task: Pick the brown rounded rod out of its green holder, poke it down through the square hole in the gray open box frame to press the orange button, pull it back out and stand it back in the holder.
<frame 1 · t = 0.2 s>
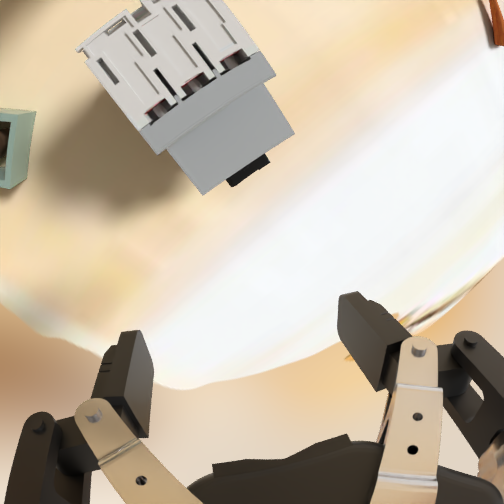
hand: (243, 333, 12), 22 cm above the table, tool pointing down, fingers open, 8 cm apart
stylus holder: (5, 141, 23), on the table
circuit breaker: (197, 99, 27), on the table
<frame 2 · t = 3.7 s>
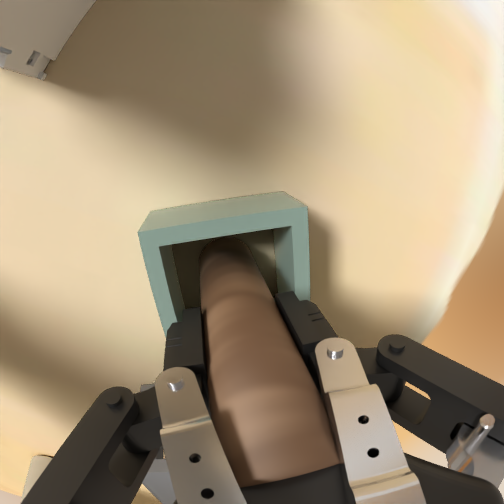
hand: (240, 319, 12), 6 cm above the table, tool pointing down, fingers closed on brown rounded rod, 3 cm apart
stylus holder: (225, 262, 18), on the table
gray open box frame: (253, 428, 24), on the table
travel mug: (60, 468, 24), on the table
brown rounded rod: (243, 331, 12), in the stylus holder, touching gripper
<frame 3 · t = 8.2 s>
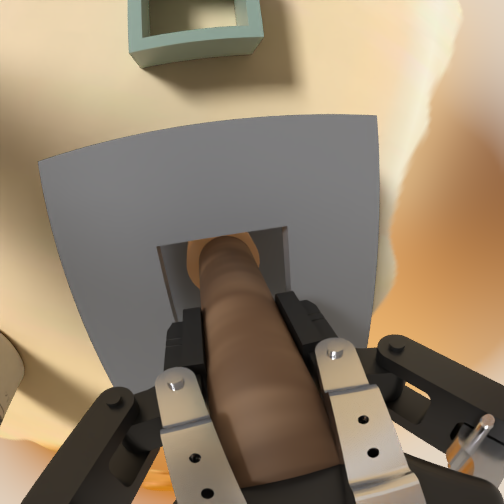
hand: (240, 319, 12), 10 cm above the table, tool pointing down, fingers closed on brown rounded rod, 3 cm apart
stylus holder: (192, 13, 16), on the table
gray open box frame: (218, 241, 22), on the table
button: (221, 254, 19), point 3 cm above the table, slide at -2.1 cm, touching brown rounded rod
brown rounded rod: (243, 330, 12), point 11 cm above the table, touching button, gripper
when the fingers open (7 cm above the table, at t = 14.7 s): brown rounded rod moves 1 cm, resting in stylus holder.
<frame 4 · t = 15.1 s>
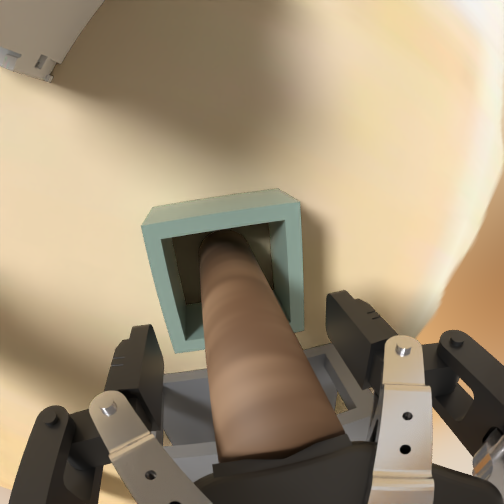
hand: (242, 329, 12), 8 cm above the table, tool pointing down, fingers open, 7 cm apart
stylus holder: (224, 256, 19), on the table
gray open box frame: (251, 421, 25), on the table
brown rounded rod: (240, 313, 12), in the stylus holder
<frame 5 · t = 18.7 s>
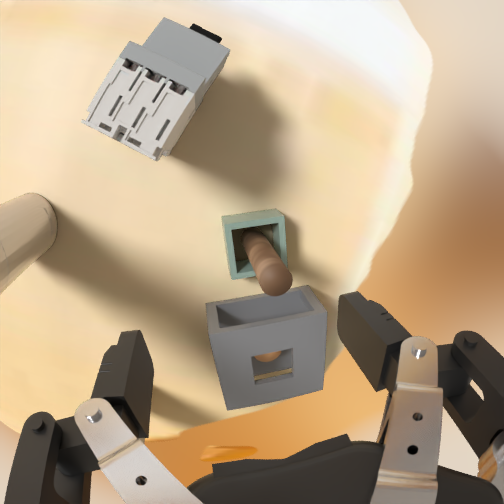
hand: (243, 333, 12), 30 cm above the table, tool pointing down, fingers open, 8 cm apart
stylus holder: (251, 238, 42), on the table
gray open box frame: (262, 335, 49), on the table
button: (265, 345, 46), point 3 cm above the table, slide at -2.1 cm
circuit breaker: (173, 94, 34), on the table
brown rounded rod: (262, 255, 36), in the stylus holder
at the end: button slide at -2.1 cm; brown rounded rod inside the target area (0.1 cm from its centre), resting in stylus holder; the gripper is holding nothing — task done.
